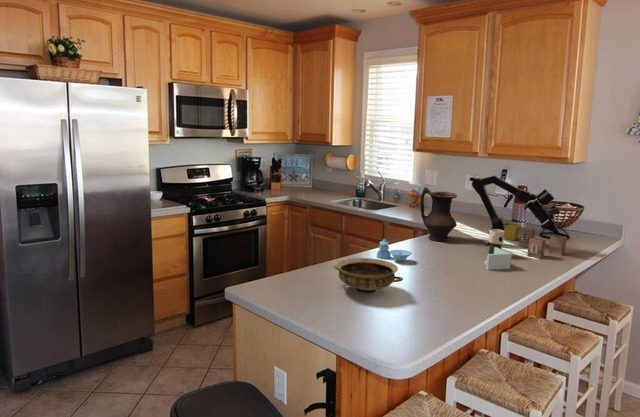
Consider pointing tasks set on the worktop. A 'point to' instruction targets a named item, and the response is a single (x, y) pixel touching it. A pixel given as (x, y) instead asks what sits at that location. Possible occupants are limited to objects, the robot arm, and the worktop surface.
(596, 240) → the worktop surface
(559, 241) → the plain block
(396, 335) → the worktop surface
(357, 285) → the ceramic bowl
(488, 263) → the l-shaped corner panel
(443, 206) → the jug
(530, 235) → the numbered block
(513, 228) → the flower pot
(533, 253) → the numbered block
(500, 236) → the character mug
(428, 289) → the worktop surface
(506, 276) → the worktop surface
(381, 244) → the blue jar and dish
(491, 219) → the robot arm
